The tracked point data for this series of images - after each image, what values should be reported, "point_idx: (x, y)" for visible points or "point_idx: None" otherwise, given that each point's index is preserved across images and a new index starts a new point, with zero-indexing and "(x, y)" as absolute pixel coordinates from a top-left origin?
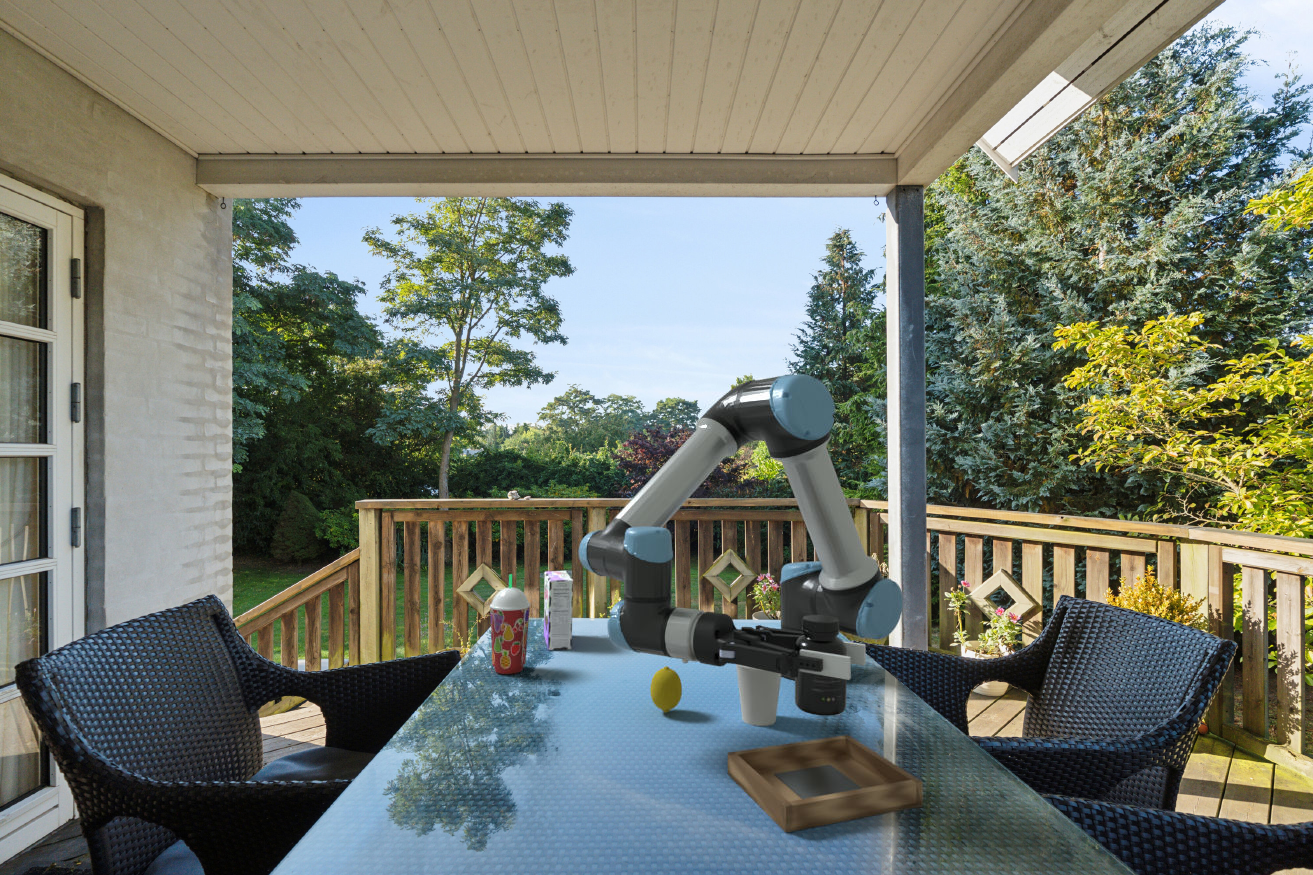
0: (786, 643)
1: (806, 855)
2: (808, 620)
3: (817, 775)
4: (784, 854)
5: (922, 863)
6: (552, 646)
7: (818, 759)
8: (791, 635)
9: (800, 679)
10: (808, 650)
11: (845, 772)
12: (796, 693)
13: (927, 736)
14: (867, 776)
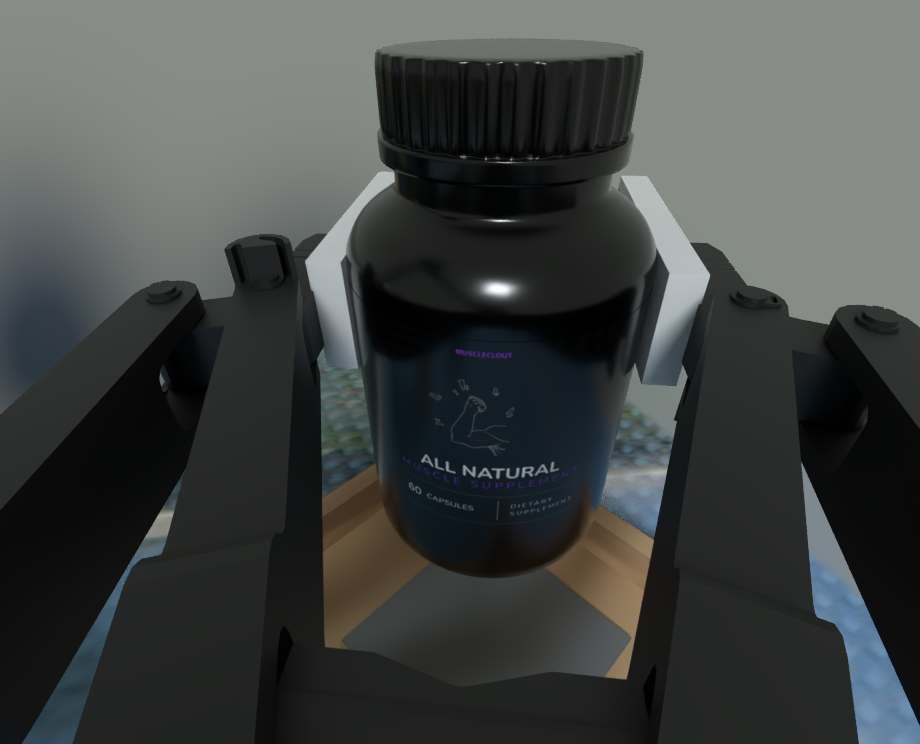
0: (305, 461)
1: (826, 605)
2: (626, 53)
3: (437, 660)
4: (877, 655)
5: (660, 433)
6: None
7: None
8: (240, 388)
9: (608, 440)
10: (665, 253)
11: (375, 591)
12: (570, 523)
13: None
14: (379, 538)
